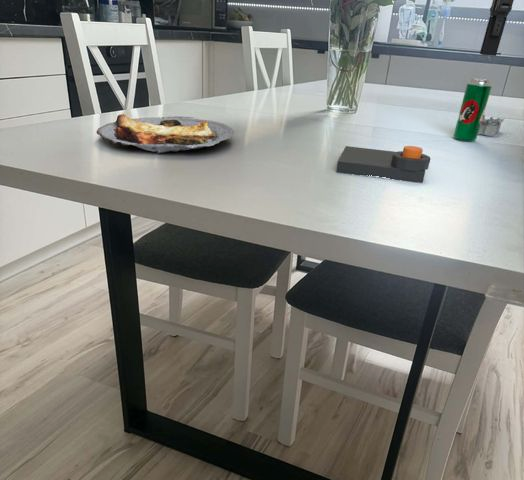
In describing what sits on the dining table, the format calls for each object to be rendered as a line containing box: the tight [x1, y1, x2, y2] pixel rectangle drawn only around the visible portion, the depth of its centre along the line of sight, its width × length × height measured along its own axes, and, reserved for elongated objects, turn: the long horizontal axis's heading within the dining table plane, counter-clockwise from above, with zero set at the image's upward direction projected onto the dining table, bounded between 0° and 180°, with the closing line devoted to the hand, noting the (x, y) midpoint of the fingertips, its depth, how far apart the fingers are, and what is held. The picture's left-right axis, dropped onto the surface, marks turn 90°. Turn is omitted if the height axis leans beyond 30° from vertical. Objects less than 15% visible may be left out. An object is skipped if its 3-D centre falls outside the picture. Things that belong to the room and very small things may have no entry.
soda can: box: [453, 77, 493, 143], centre depth 106 cm, size 5×5×12 cm
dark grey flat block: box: [335, 145, 431, 184], centre depth 82 cm, size 14×12×4 cm
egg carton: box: [478, 114, 506, 137], centre depth 117 cm, size 11×8×4 cm
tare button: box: [402, 145, 423, 159], centre depth 77 cm, size 3×3×2 cm
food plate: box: [96, 113, 235, 154], centre depth 90 cm, size 25×23×4 cm
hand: (487, 54), depth 100 cm, fingers open, 3 cm apart
